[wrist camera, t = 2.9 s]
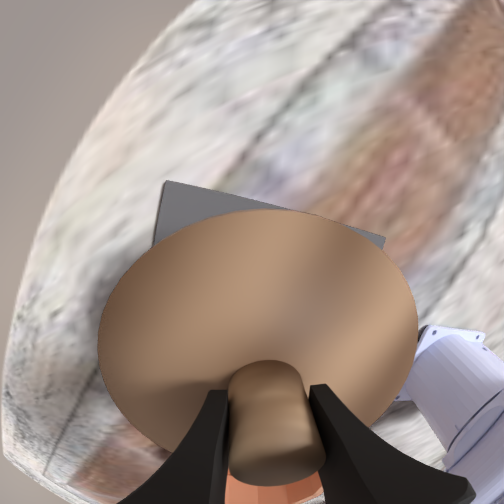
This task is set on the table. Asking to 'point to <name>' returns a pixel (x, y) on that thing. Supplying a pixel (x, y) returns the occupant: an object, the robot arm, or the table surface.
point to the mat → (211, 209)
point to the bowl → (273, 492)
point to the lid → (258, 335)
